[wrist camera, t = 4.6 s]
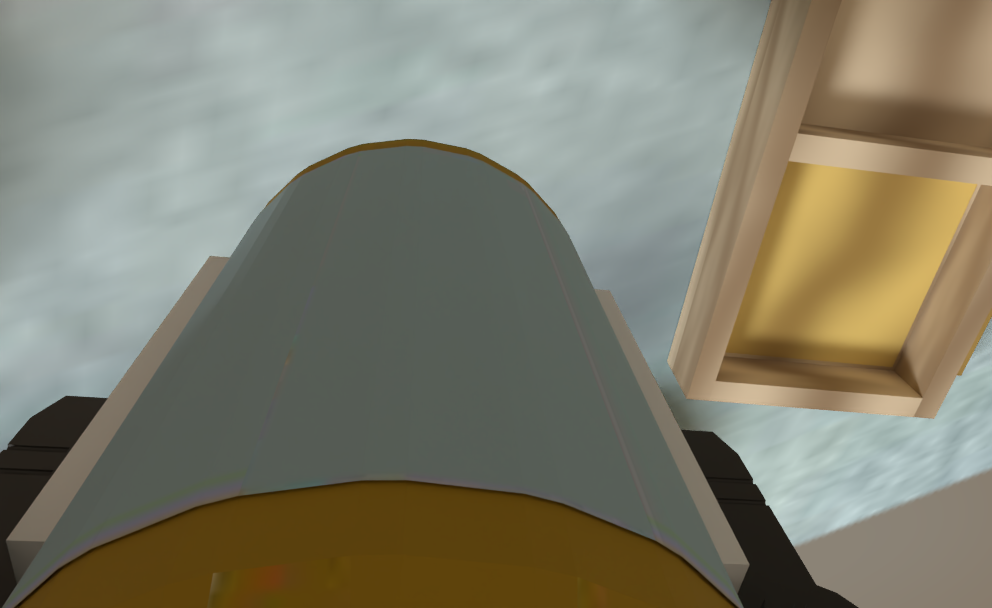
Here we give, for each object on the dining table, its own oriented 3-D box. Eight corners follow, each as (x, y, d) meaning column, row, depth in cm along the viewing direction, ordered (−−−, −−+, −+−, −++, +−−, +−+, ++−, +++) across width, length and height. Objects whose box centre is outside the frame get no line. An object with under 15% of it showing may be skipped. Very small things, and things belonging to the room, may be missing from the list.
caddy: (667, 361, 32) (686, 398, 29) (834, -218, 22) (886, -240, 19) (901, 381, 33) (940, 419, 31) (1158, -157, 23) (1248, -170, 21)
